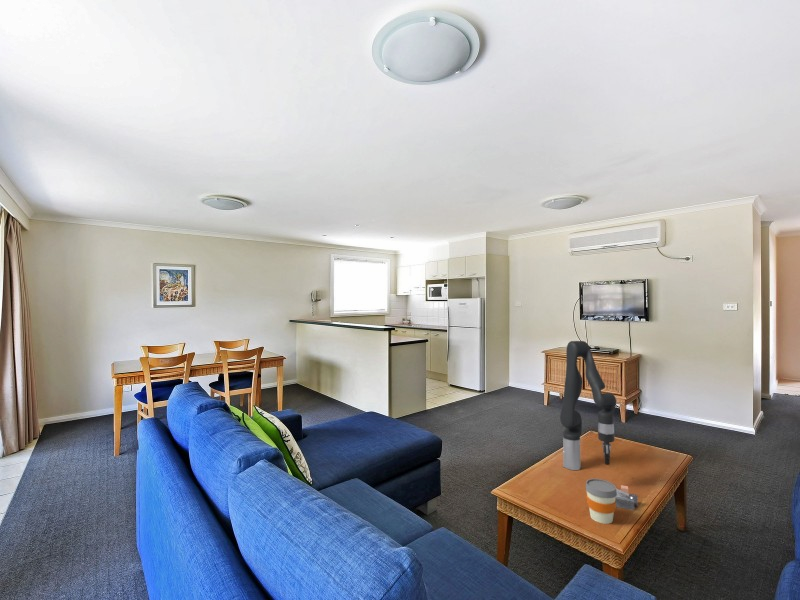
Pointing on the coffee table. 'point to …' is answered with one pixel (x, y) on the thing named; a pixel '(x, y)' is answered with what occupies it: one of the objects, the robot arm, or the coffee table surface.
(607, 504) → the reusable coffee cup
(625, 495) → the arm
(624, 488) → the salmon pink block
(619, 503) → the tongs jaw
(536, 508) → the coffee table surface
